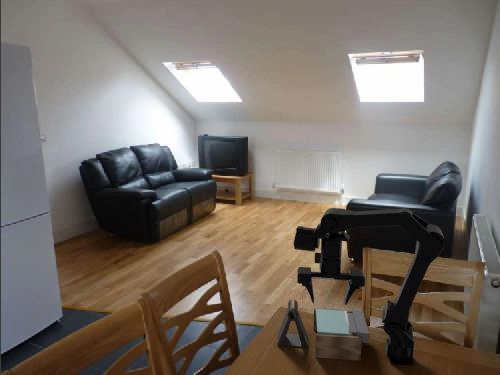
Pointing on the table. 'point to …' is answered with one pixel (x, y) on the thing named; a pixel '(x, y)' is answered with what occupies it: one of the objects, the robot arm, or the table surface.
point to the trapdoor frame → (337, 344)
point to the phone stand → (283, 337)
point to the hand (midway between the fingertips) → (329, 303)
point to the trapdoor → (342, 323)
